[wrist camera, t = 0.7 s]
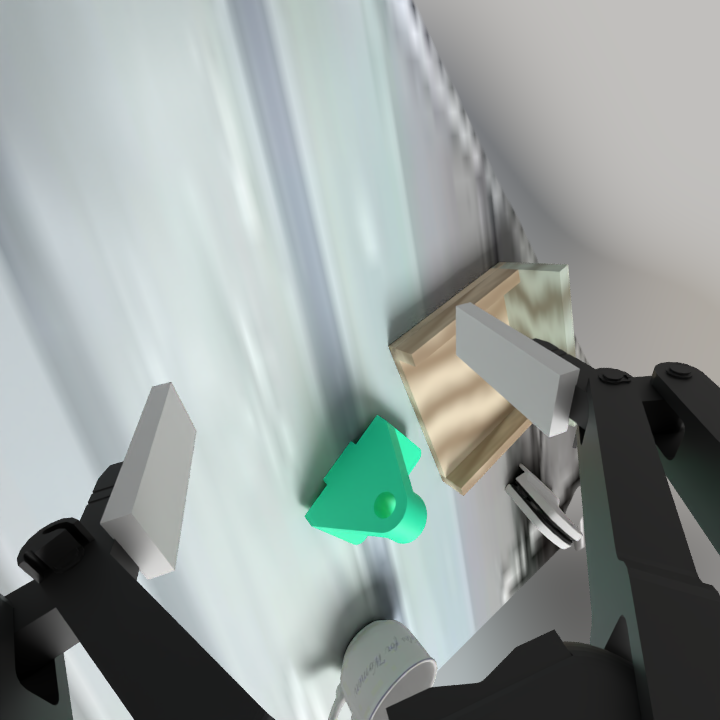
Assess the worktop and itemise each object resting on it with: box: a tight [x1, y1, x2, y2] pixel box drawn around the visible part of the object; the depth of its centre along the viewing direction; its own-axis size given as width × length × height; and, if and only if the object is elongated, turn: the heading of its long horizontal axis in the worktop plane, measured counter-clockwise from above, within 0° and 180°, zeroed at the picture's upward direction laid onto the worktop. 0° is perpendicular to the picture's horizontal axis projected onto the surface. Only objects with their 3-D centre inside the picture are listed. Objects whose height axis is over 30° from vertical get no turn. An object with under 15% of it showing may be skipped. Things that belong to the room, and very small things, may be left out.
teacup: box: [328, 620, 437, 720], centre depth 43 cm, size 14×11×8 cm
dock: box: [388, 262, 577, 496], centre depth 41 cm, size 22×18×8 cm
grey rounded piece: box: [505, 463, 583, 549], centre depth 59 cm, size 17×5×10 cm, turn 50°
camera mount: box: [305, 415, 427, 545], centre depth 34 cm, size 12×8×10 cm, turn 136°
